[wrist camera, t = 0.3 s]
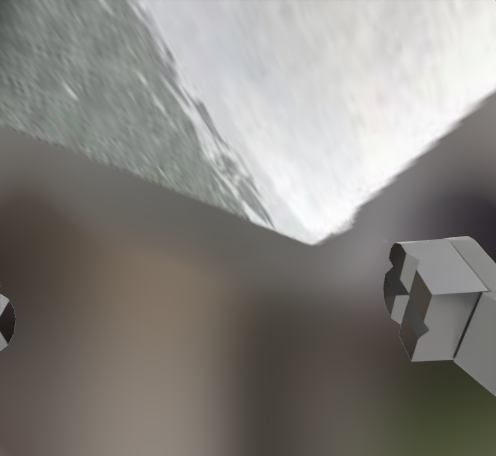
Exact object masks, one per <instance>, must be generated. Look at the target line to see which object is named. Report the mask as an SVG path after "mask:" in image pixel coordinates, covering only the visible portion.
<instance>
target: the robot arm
mask: <svg viewBox="0 0 496 456" xmlns="http://www.w3.org/2000/svg"><path fill="white" fill-rule="evenodd" d="M389 259H390V261H391V263H392V265H393V267H392V268H391V269H390V270H389V271H388V272H387V273H386V274H385V279H384V285H383V292H384V300H385V305H386V308H387V311H388V313H389V315H390V317H391V318H392V319H393V320H395V321H396V322H398V323H399V324H400V325H401V327H400V331H399V337H400V338H401V341H402V343H403V345H404V347H405V349H406V351H407V353H408V355H409V358H410V359H411V361H433V360H454V359H455V360H454V362H455V363H456V364H457V365H459V366H460V367H461V368H462V369H464V370H465V371H466V372H467V373H469V374H470V375H471V376H472V377H473V378H474V379H475V380H477V381H478V382H479V383H480V384H482V385H483V386H484V387H485V388H486V389H487V390H489V391H490V392H491V393H492V394H494V395H495V396H496V264H495V263H494V261H492V259H491V258H490V257H489V256H488V255H487V254H486V252H485V251H484V250H483V249H482V248H481V247H480V246H479V245H478V243H477V242H476V241H475V240H474V239H472V238H470V237H468V236H465V237H455V238H444V239H440V240H425V241H411V242H397V243H394V244H393V246H392V248H391V250H390V255H389ZM0 285H1V283H0ZM15 322H16V317H15V312H14V308H13V306H12V304H11V302H10V300H9V299H7V298H6V297H4V296H2V295H1V294H0V351H1V350H2V349H3V348H5V347H6V346H7V345H8V344H9V342H10V340H11V338H12V336H13V334H14V329H15Z"/></svg>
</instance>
